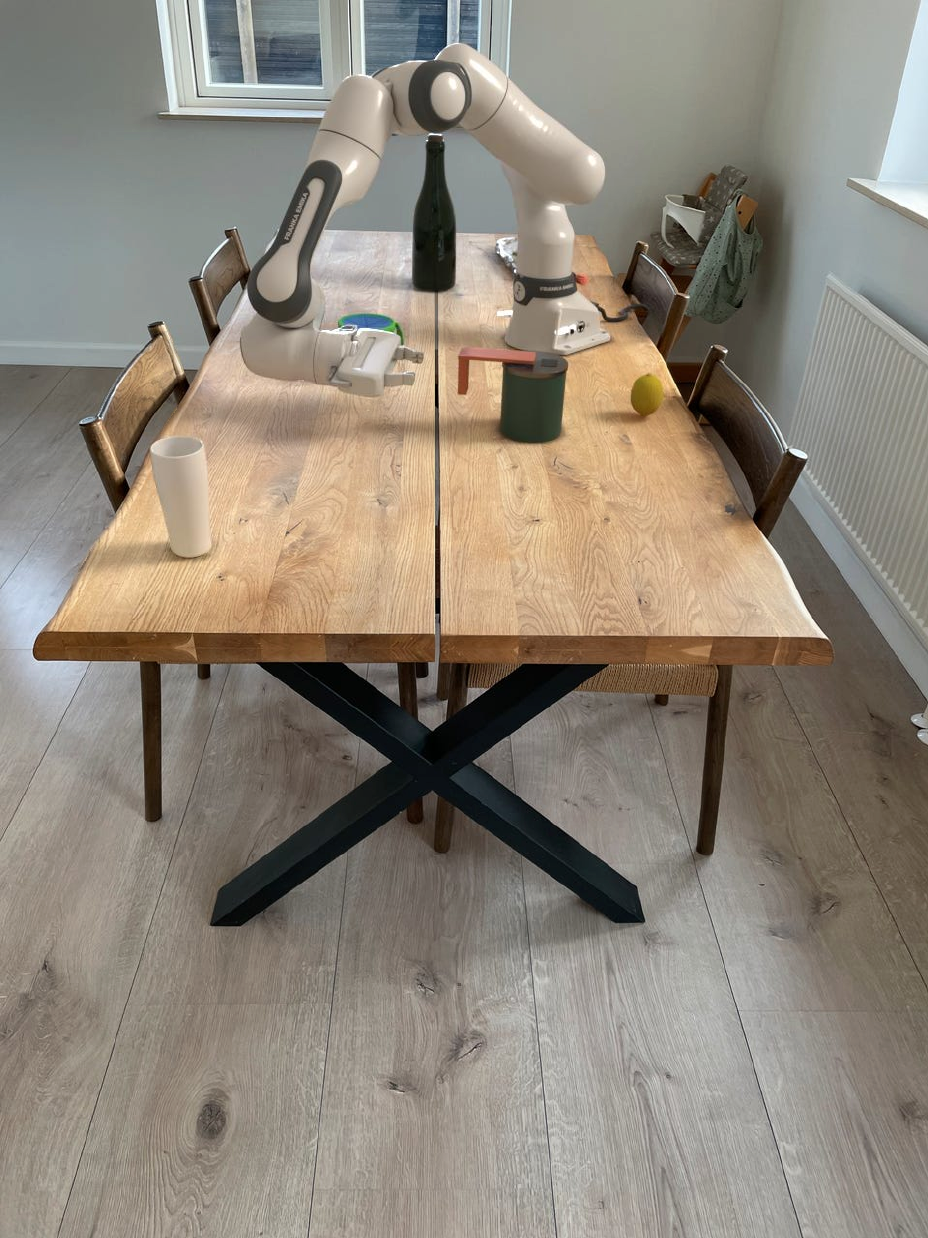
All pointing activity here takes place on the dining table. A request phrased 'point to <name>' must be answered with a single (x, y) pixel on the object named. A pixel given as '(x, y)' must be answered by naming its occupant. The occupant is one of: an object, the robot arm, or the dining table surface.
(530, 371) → the green canister
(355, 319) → the snack cup
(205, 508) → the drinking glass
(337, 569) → the dining table surface
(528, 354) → the bracket
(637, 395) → the lemon
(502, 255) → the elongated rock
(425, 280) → the dark green wine bottle
